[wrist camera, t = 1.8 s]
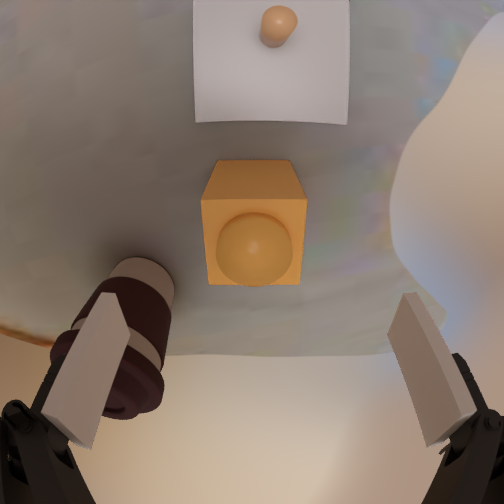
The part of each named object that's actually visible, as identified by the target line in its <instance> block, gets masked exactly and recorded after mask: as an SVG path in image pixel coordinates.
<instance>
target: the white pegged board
mask: <svg viewBox="0 0 504 504" xmlns="http://www.w3.org/2000/svg"><path fill="white" fill-rule="evenodd" d="M193 63H194V97H195V120H196V123H197V122H215V121H298V122H316V123H330V124H342V125H347V117H348V98H349V70H350V16H349V0H193Z"/></svg>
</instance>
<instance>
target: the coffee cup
mask: <svg viewBox="0 0 504 504" xmlns="http://www.w3.org/2000/svg"><path fill="white" fill-rule="evenodd" d="M101 292H103V293H116V296H117V299H118V302H119V305H120V308H121V311H122V313H123V316H124V319H125V322H126V324H127V327H128V329H129V332H130V338H129V340H128V343H127V345H126V348H125V350H124V353H123V356H122V358H121V361H120V364H119V366H118V369H117V372H116V375H115V377H114V380H113V383H112V386H111V389H110V392H109V395H108V397H107V400H106V403H105V406H104V409H103V413H102V416H104V417H108V418H112V419H119V420H127V419H132V418H134V417H136V416H137V415H138V414H139V413H147V412H150V411H153V410H154V409H156V408H157V407H158V406H159V405H160V403H161V401H162V397H163V392H164V380H163V378H162V375H161V373H160V372H161V370H162V368H163V365H164V358H165V353H166V347H167V341H168V335H169V330H170V324H171V308H172V303H173V298H174V285H173V281H172V279H171V277H170V276H169V274H168V273H167V272H166V271H165V270H164V269H163V268H162V267H161V266H160V265H158V264H157V263H155V262H153V261H151V260H148V259H145V258H136V257H133V258H128V259H125V260H123V261H121V262H120V263H119V264H118V265H117V266H116V267H115V268H114V269H113V271H112V272H111V273H110V275H109V276H108V278H107V279H106V280H105V281H103V282H102V283H101V284H100V285H99V286H98V287H97V289H96V290H95V292H94V293H93V294H92V296H91V297H90V299H89V300H88V301H87V303H86V304H85V306H84V307H83V308H82V310H81V311H80V313H79V314H78V316H77V317H76V319H75V320H74V322H73V324H72V326H71V330H68V331H65V332H63V333H62V334H61V335H60V336H59V337H58V338H57V340H56V342H55V343H54V345H53V347H52V349H51V352H50V360H51V364H52V362H53V361H54V360H55V359H56V358H57V357H58V356H59V355H60V354H61V355H66V356H67V354H68V352H69V350H70V348H71V347H72V345H73V343H74V341H75V339H76V337H77V335H78V333H79V331H80V329H81V328H82V326H83V324H84V322H85V320H86V319H87V317H88V315H89V313H90V311H91V310H92V308H93V306H94V304H95V303H96V301H97V299H98V298H99V296H100V294H101Z"/></svg>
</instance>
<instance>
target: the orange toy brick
mask: <svg viewBox="0 0 504 504" xmlns="http://www.w3.org/2000/svg"><path fill="white" fill-rule="evenodd" d="M201 210H202V222H203V233H204V243H205V253H206V263H207V272H208V281H209V285H244V286H251V287H257V286H264V285H290V284H299V283H300V274H301V264H302V255H303V244H304V233H305V222H306V210H307V198H306V196H305V193H304V191H303V189H302V187H301V185H300V182H299V180H298V178H297V176H296V174H295V172H294V169H293V167H292V165H291V163H290V161H289V160H218V161H217V163H216V165H215V167H214V170H213V172H212V174H211V177H210V179H209V181H208V184H207V186H206V188H205V191H204V193H203V196H202V198H201Z"/></svg>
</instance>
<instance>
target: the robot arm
mask: <svg viewBox="0 0 504 504" xmlns="http://www.w3.org/2000/svg"><path fill="white" fill-rule="evenodd" d="M387 335H388V337H389V340H390V342H391V345H392V347H393V350H394V353H395V355H396V358H397V360H398V363H399V365H400V368H401V371H402V374H403V376H404V379H405V382H406V384H407V387H408V390H409V393H410V396H411V399H412V402H413V405H414V408H415V410H416V414H417V417H418V420H419V423H420V426H421V429H422V433H423V436H424V440H425V443H426V446H427V448H429V447H432V446H435V445H439V444H442V443H443V442H444V441H445V440H446V439H447V438H449V439H450V443H449V444H448V445H446V446H445V447H444V448H443V449H442V450H441V451H440V452H439V454H440V455H441V454H442V453H443V452H444V451H445V454H444V456H443V459H442V461H441V464H440V466H439V468H438V471H437V473H436V475H435V477H434V479H433V481H432V484H431V486H430V488H429V490H428V492H427V494H426V496H425V498H424V500H423V502H422V503H421V504H504V416H500V414H499V413H498V412H496V411H495V410H491V409H488V407H487V405H486V403H485V401H484V398H483V396H482V394H481V392H480V390H479V387H478V385H477V383H476V381H475V380H474V377H473V375H472V373H471V372H470V369H469V367H468V365H467V363H466V361H465V360H464V359H463V358H462V357H461V356H460V355H459V354H458V353H455V354H451V353H450V351H449V349H448V347H447V345H446V343H445V341H444V339H443V338H442V336H441V334H440V332H439V330H438V328H437V326H436V325H435V323H434V321H433V319H432V318H431V316H430V314H429V312H428V311H427V309H426V307H425V305H424V304H423V302H422V300H421V299H420V297H419V295H418V294H417V292H414V293H403V295H402V298H401V301H400V304H399V306H398V309H397V312H396V314H395V317H394V319H393V322H392V324H391V327H390V329H389V332H388V334H387ZM129 338H130V332H129V329H128V327H127V324H126V322H125V319H124V316H123V313H122V311H121V308H120V305H119V302H118V299H117V296H116V293H103V292H101V294H100V296H99V298H98V299H97V301H96V303H95V304H94V306H93V308H92V310H91V311H90V313H89V315H88V317H87V319H86V320H85V322H84V324H83V326H82V328H81V329H80V331H79V333H78V335H77V337H76V339H75V341H74V343H73V345H72V347H71V348H70V350H69V352H68V354H67V356H66V355H61V354H60V355H59V356H58V357H57V358H56V359H55V360H54V361H53V362H52V364H51V366H50V368H49V370H48V372H47V373H48V374H46V376H45V378H44V382H42V384H41V386H40V388H39V391H38V393H37V395H36V397H35V399H34V401H33V404H32V406H31V408H30V409H29V408H28V407H27V406H26V405H25V404H24V403H23V402H22V401H20V400H12V401H10V402H8V403H7V404H6V405H5V407H4V408H3V411H2V418H1V417H0V504H96V503H95V501H94V499H93V497H92V495H91V493H90V491H89V490H88V487H87V485H86V483H85V481H84V479H83V477H82V475H81V473H80V471H79V468H78V466H77V464H76V461H75V459H74V457H73V454H72V452H71V450H70V448H69V446H68V445H67V444H68V441H69V440H70V441H71V442H73V443H74V444H75V445H77V446H80V447H83V448H86V449H90V450H91V448H92V445H93V441H94V438H95V435H96V432H97V428H98V425H99V422H100V418H101V416H102V413H103V409H104V406H105V403H106V400H107V397H108V395H109V392H110V389H111V386H112V383H113V380H114V377H115V375H116V372H117V369H118V366H119V364H120V361H121V358H122V356H123V353H124V350H125V348H126V345H127V343H128V340H129Z"/></svg>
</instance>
